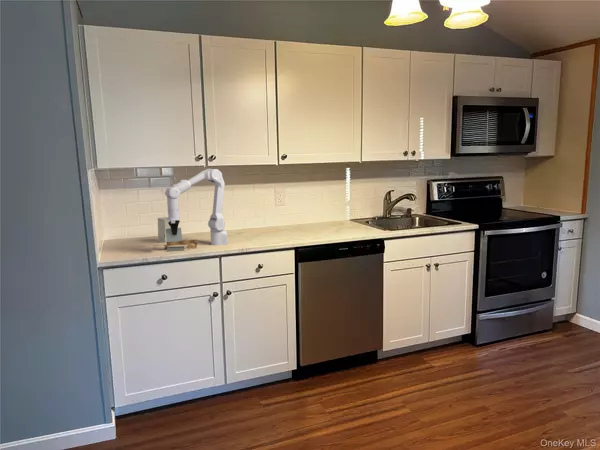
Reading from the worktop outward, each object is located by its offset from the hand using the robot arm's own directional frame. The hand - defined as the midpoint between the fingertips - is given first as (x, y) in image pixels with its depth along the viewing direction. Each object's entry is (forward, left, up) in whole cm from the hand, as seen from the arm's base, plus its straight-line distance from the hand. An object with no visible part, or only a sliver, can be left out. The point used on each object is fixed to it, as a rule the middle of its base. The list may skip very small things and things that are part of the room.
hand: (174, 234), depth 244 cm
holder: (0, 0, -10) cm, 10 cm away
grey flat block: (0, 0, -4) cm, 4 cm away
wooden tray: (-2, -9, -10) cm, 13 cm away
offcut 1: (-8, -6, -9) cm, 13 cm away
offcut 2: (-8, -6, -10) cm, 14 cm away
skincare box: (+8, -29, -10) cm, 31 cm away
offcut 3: (-8, -11, -10) cm, 17 cm away
